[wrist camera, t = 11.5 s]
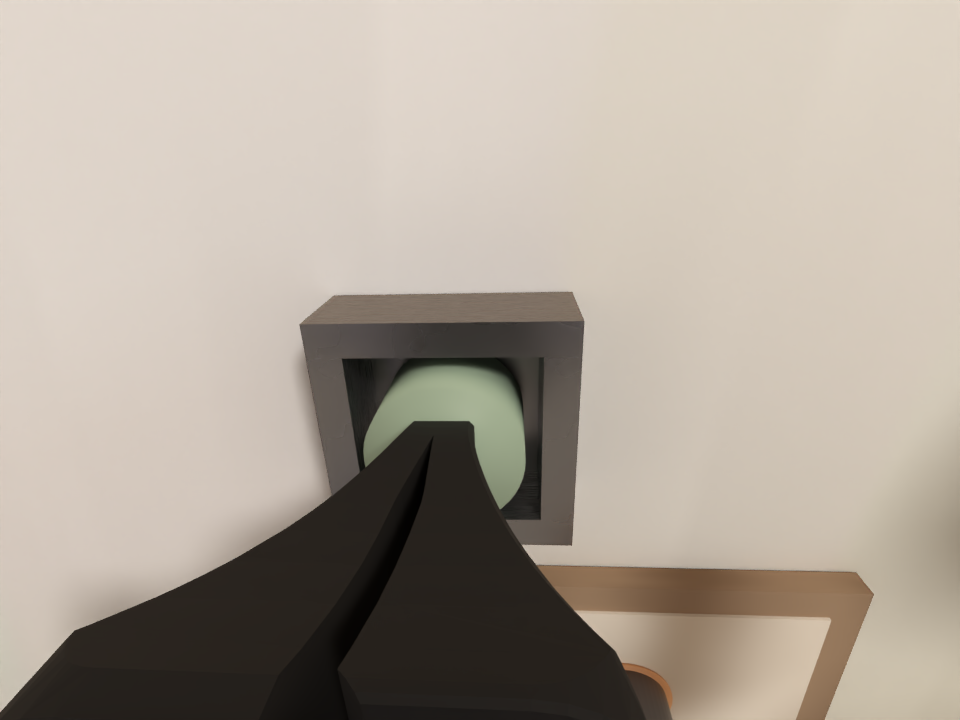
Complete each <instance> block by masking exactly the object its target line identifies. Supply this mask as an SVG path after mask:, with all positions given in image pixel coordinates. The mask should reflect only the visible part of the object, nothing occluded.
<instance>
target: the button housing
mask: <svg viewBox="0 0 960 720" xmlns="http://www.w3.org/2000/svg"><path fill="white" fill-rule="evenodd" d="M300 330H301V335H302V340H303V346H304V351H305V356H306V361H307V367H308V372H309V377H310V382H311V388H312V393H313V398H314V403H315V409H316V414H317V419H318V425H319V430H320V435H321V440H322V446H323V451H324V456H325V461H326V467H327V472H328V477H329V482H330V488H331V493H332V496H333V495H334V494H335V493H336V492H337V491H339V490H340V489H341V488H342V487H343V486H345V485H346V484H347V483H348V482H349V481H351V480H352V479H353V478H354V477H355V476H356V475H358V474H359V473H360V472H361V471H362V470H363V469H364V468H366V467H365V462H364V453H363V450H364V441H365V437H366V433H367V431H368V429H369V426H370V424H371V422H372V420H373V418H374V416H375V414H376V412H377V410H378V408H379V407H380V405H381V403H382V401H383V399H384V397H385V395H386V393H387V391H388V389H389V387H390V385H391V383H392V381H393V379H394V377H395V376H396V374H397V372H398V371H399V370H400V368H401V367H402V366H403V365H404V364H405V363H406V362H407V361H408V360H409V359H411V358H496V359H497V360H498V361H499V362H501V363H502V364H503V365H504V366H505V367H506V368H507V369H508V370H509V371H510V373H511V374H512V375H513V377H514V378H515V380H516V382H517V384H518V386H519V388H520V391H521V395H522V399H523V412H524V435H525V458H526V464H525V472H524V476H523V480H522V482H521V485H520V487H519V489H518V490H517V492H516V494H515V495H514V496H513V497H512V499H511V500H510V501H509V502H508V503H507V504H506V505H505V506H504V507H503V508H501V509H500V511H501V512H502V514H503V516H504V518H505V520H506V521H507V523H508V525H509V526H510V528H511V530H512V531H513V533H514V535H515V536H516V538H517V539H518V541H519V542H520V544H524V545H572V536H573V517H574V499H575V481H576V463H577V444H578V426H579V408H580V390H581V371H582V353H583V335H584V319H583V317H582V314H581V312H580V310H579V307H578V305H577V302H576V300H575V298H574V295H573V293H572V292H536V293H472V294H407V295H343V296H333V297H332V298H330V299H329V300H328V301H327V302H326V303H324V304H323V305H322V306H321V307H320V308H318V309H317V310H316V311H315V312H314V313H312V314H311V315H310V316H309V317H308V318H306V319H305V320H304V321H303V322H302V323H300Z"/></svg>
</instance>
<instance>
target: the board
mask: <svg viewBox="0 0 960 720" xmlns="http://www.w3.org/2000/svg"><path fill="white" fill-rule="evenodd" d="M537 567H538V568H539V569H540V571H541V572H542V573H543V574H544V576H545V577H546V578H547V580H548V581H549V582H550V583H551V585H552V586H553V587H554V588H555V590H556V591H557V592H558V593H559V594H560V595H561V596H562V597H563V598H564V600H565V601H566V602H567V603H568V604H569V605H570V606H571V607H572V609H573V610H574V611H575V612H576V613H577V614H578V615H579V616H580V617H581V618H582V619H583V620H584V621H585V622H586V623H587V624H588V625H589V626H590V627H591V628H592V629H593V630H594V631H595V632H596V633H597V634H598V635H599V636H600V637H601V638H602V639H603V640H604V641H605V642H606V643H607V644H608V645H610V646H611V647H612V648H613V649H614V650H615V651H616V653H617V655H618V657H619V659H620V661H621V663H622V665H623V667H624V669H625V670H630V671H635V672H639V673H642V674H645V675H647V676H649V677H651V678H652V679H654V680H655V681H657V682H658V683H659V684H660V685H661V686H662V688H663V690H664V691H665V694H666V697H667V701H668V705H669V708H670V712H671V715H672V719H673V720H824V719H825V717H826V714H827V712H828V709H829V707H830V704H831V702H832V699H833V697H834V694H835V691H836V689H837V686H838V684H839V681H840V679H841V676H842V674H843V671H844V669H845V666H846V664H847V661H848V659H849V656H850V654H851V651H852V649H853V646H854V643H855V641H856V638H857V636H858V633H859V631H860V628H861V626H862V623H863V621H864V618H865V616H866V613H867V611H868V608H869V606H870V603H871V601H872V598H873V595H874V594H873V593H872V591H871V590H870V589H869V588H868V587H867V585H866V584H865V583H864V582H863V580H862V579H861V578H860V577H859V575H858V574H857V573H852V572H807V571H762V570H717V569H671V568H626V567H581V566H537Z"/></svg>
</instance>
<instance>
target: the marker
mask: <svg viewBox="0 0 960 720" xmlns="http://www.w3.org/2000/svg"><path fill="white" fill-rule="evenodd" d="M625 671H626V673H627V675H628V677H629V679H630V682H631V684H632V686H633V688H634V690H635V693H636V695H637V697H638V700H639V702H640V704H641V707H642V709H643V712H644V714H645V717H646V720H673V719H672V715H671V712H670V708H669V705H668V701H667V697H666V694H665V691H664V690H663V688H662V686H661V685H660V684H659V683H658V682H657V681H655V680H654V679H652V678H651V677H649V676H647V675H645V674H642V673H639V672H635V671H630V670H625Z"/></svg>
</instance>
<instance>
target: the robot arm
mask: <svg viewBox="0 0 960 720" xmlns="http://www.w3.org/2000/svg"><path fill="white" fill-rule="evenodd" d="M0 720H646V717H645V714H644V712H643V709H642V707H641V704H640V702H639V700H638V697H637V695H636V693H635V690H634V688H633V686H632V684H631V682H630V679H629V677H628V675H627V673H626V671H625V669H624V667H623V665H622V663H621V661H620V659H619V657H618V655H617V653H616V651H615V650H614V649H613V648H612V647H611V646H610V645H608V644H607V643H606V642H605V641H604V640H603V639H602V638H601V637H600V636H599V635H598V634H597V633H596V632H595V631H594V630H593V629H592V628H591V627H590V626H589V625H588V624H587V623H586V622H585V621H584V620H583V619H582V618H581V617H580V616H579V615H578V614H577V613H576V612H575V611H574V610H573V609H572V607H571V606H570V605H569V604H568V603H567V602H566V601H565V600H564V598H563V597H562V596H561V595H560V594H559V593H558V592H557V591H556V590H555V588H554V587H553V586H552V585H551V583H550V582H549V581H548V580H547V578H546V577H545V576H544V574H543V573H542V572H541V571H540V569H539V568H538V567H537V565H536V564H535V563H534V562H533V560H532V559H531V558H530V557H529V555H528V554H527V553H526V551H525V550H524V548H523V547H522V545H521V544H520V542H519V541H518V539H517V538H516V536H515V535H514V533H513V531H512V530H511V528H510V526H509V525H508V523H507V521H506V520H505V518H504V516H503V514H502V512H501V511H500V509H499V507H498V505H497V503H496V501H495V499H494V497H493V495H492V492H491V490H490V488H489V486H488V483H487V481H486V479H485V476H484V473H483V471H482V468H481V465H480V462H479V459H478V456H477V452H476V448H475V432H474V425H473V424H472V423H471V422H470V421H413V422H412V423H411V424H410V425H409V426H408V427H407V428H406V429H405V430H404V431H403V432H402V433H401V434H400V435H399V436H398V437H397V438H396V439H395V440H394V441H393V442H392V443H391V444H390V445H389V446H388V447H387V448H386V449H385V450H384V451H383V452H382V453H381V454H379V455H378V456H377V457H376V458H375V459H374V460H373V461H372V462H371V463H370V464H369V465H368V466H367V467H366V468H364V469H363V470H362V471H361V472H360V473H359V474H358V475H356V476H355V477H354V478H353V479H352V480H351V481H349V482H348V483H347V484H346V485H345V486H343V487H342V488H341V489H340V490H339V491H337V492H336V493H335V494H334V495H333V496H331V497H330V498H329V499H327V500H326V501H325V502H323V503H322V504H321V505H319V506H318V507H317V508H315V509H314V510H313V511H311V512H310V513H308V514H307V515H305V516H304V517H302V518H301V519H299V520H298V521H297V522H295V523H294V524H292V525H291V526H289V527H288V528H286V529H284V530H283V531H281V532H280V533H278V534H276V535H274V536H273V537H271V538H269V539H268V540H266V541H264V542H263V543H261V544H259V545H258V546H256V547H254V548H252V549H251V550H249V551H247V552H246V553H244V554H242V555H241V556H239V557H237V558H235V559H233V560H232V561H230V562H228V563H226V564H224V565H222V566H220V567H218V568H216V569H214V570H212V571H210V572H208V573H207V574H205V575H202V576H200V577H198V578H196V579H194V580H192V581H190V582H188V583H186V584H184V585H182V586H180V587H178V588H175V589H173V590H171V591H169V592H167V593H164V594H162V595H160V596H158V597H156V598H153V599H151V600H148V601H146V602H144V603H141V604H139V605H136V606H134V607H132V608H129V609H127V610H125V611H122V612H120V613H117V614H115V615H113V616H110V617H108V618H105V619H103V620H101V621H98V622H96V623H93V624H91V625H88V626H86V627H83V628H80V629H78V630H75V631H74V632H73V633H72V634H71V635H70V636H69V637H68V638H67V639H66V640H65V641H64V643H63V644H62V645H61V646H60V647H59V648H58V649H57V650H56V651H55V653H54V654H53V655H52V656H51V657H50V658H49V659H48V660H47V661H46V662H45V664H44V665H43V666H42V667H41V668H40V669H39V670H38V671H37V672H36V674H35V675H34V676H33V677H32V678H31V679H30V680H29V681H28V682H27V683H26V685H25V686H24V687H23V688H22V689H21V690H20V691H19V692H18V693H17V695H16V696H15V697H14V698H13V699H12V700H11V701H10V702H9V703H8V704H7V706H6V707H5V708H4V709H3V710H2V711H1V712H0Z"/></svg>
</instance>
